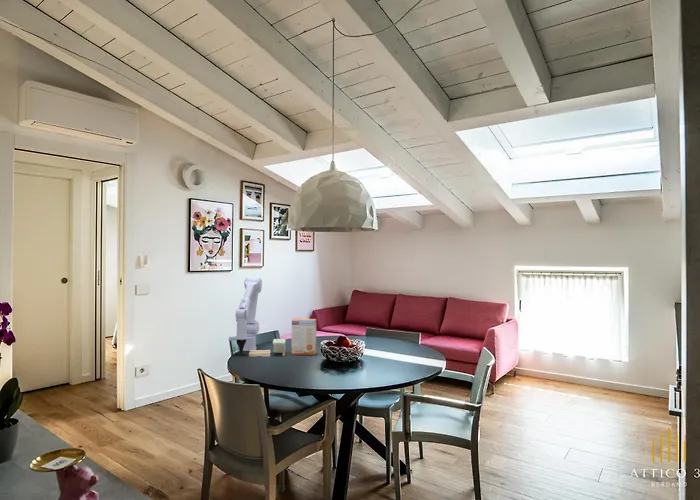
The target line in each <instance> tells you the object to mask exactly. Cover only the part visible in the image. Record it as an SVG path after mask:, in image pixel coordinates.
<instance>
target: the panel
mask: <svg viewBox="0 0 700 500" xmlns="http://www.w3.org/2000/svg"><path fill="white" fill-rule="evenodd" d="M248 352H249V353H248V358H249V357H250V358H251V357H253V358H257V356H262V357H271V354H272V353H271V349H260V350H259V349H258V350H257V349H256V350H250V351H248ZM270 353H271V354H270Z"/></svg>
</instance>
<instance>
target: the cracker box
mask: <svg viewBox="0 0 700 500" xmlns="http://www.w3.org/2000/svg"><path fill="white" fill-rule="evenodd" d="M290 345H291V352H290V353H291V355H295V356H296V355H297V356H298V355H300V356H315V355H316V354H317V318H303V317H301V318H297V317H296V318H293V319H292V320H291V344H290Z"/></svg>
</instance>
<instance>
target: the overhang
mask: <svg viewBox="0 0 700 500" xmlns="http://www.w3.org/2000/svg"><path fill="white" fill-rule="evenodd" d="M286 340H287V339H286V338H273V340H272V345H273V353H274V354H275V353H277V354H279V353H281V354H282V357H285V356H286V342H287V341H286Z"/></svg>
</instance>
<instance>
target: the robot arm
mask: <svg viewBox="0 0 700 500" xmlns="http://www.w3.org/2000/svg"><path fill="white" fill-rule="evenodd" d="M243 283H244V285H243V286H244V289H245V290H244V291H245V292H244V296H243V297H242V298H241V299H240V303H239V306H238V308H237V309H236V310H235V321H236V336H228V341H236V344H237V346H238V347H237V348H238V350H239V354H243V352H250V350H257V348H258V347H257V346H256V343H257V342H256V341H257V335H258V334H259V330H260V327H259V325H260V324H259V321H258V320H257V319H256V313H257V307H258V298H259V294H260V293H261V292H262V288H263V287H262V286H263V281H262V279H261V278H260V277H259V278H256V277H255V278H254V277H249V278H248V277H246V278H245V279H244V281H243Z"/></svg>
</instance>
